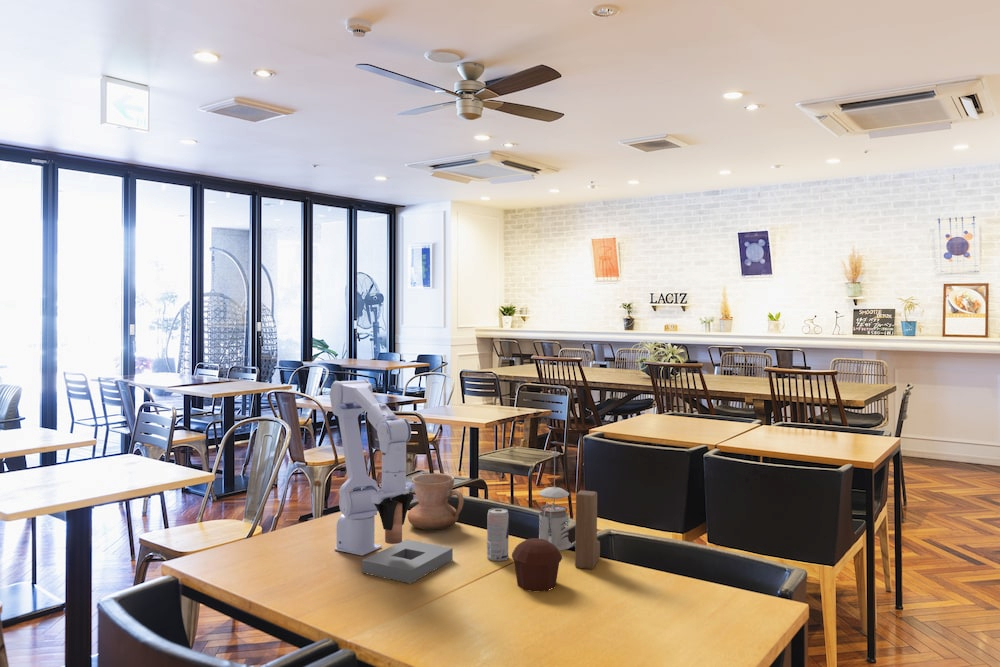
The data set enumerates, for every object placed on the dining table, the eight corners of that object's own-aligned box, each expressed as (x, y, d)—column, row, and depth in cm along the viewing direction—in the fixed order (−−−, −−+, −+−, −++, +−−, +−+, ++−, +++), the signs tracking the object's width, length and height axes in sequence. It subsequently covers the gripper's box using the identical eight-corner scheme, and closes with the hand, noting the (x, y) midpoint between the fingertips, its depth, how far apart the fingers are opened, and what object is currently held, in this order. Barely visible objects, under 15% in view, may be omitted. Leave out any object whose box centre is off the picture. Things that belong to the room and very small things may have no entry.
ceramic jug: (394, 529, 202) (394, 479, 202) (420, 516, 216) (420, 469, 215) (449, 538, 195) (450, 486, 195) (473, 524, 208) (474, 475, 208)
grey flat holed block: (361, 572, 168) (361, 560, 168) (406, 550, 184) (406, 539, 184) (410, 583, 162) (410, 570, 161) (452, 560, 177) (452, 548, 177)
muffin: (572, 584, 162) (572, 541, 162) (540, 598, 154) (541, 552, 154) (532, 571, 170) (533, 530, 170) (500, 584, 162) (501, 540, 162)
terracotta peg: (381, 542, 169) (381, 504, 169) (391, 537, 173) (392, 500, 172) (395, 544, 167) (395, 506, 167) (405, 540, 171) (405, 502, 170)
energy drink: (509, 554, 182) (509, 508, 181) (507, 562, 176) (507, 514, 176) (488, 554, 182) (488, 507, 182) (485, 561, 177) (486, 513, 177)
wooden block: (582, 555, 181) (583, 485, 181) (600, 558, 180) (601, 487, 180) (574, 567, 173) (575, 494, 172) (593, 570, 171) (594, 495, 171)
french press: (575, 541, 194) (576, 449, 193) (565, 554, 183) (566, 457, 182) (540, 537, 197) (541, 446, 196) (528, 550, 186) (529, 454, 185)
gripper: (388, 478, 161) (388, 537, 162) (425, 466, 174) (424, 521, 174) (364, 474, 165) (363, 532, 165) (401, 463, 177) (401, 517, 178)
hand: (393, 526), depth 170 cm, fingers closed on terracotta peg, 4 cm apart
